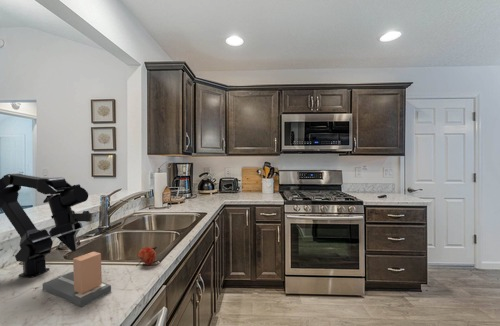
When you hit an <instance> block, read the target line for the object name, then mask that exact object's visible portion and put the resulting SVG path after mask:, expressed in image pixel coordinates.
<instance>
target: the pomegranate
mask: <svg viewBox="0 0 500 326" xmlns="http://www.w3.org/2000/svg"><path fill="white" fill-rule="evenodd" d="M156 249H158V246H155V247H150V246H145V247H142V248H141V249H140V250H139V251H138V253H137V258H139V259H140V261H139V262H138V263H137V264H136V265H135V266H136V267H137V266H139V265H140V264H141V263H144V264H145V265H146V266H150V265H151V264H152V265H153V263H154V262H155V261H156V259H157V252H156Z"/></svg>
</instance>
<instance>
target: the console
mask: <svg viewBox="0 0 500 326" xmlns="http://www.w3.org/2000/svg"><path fill="white" fill-rule="evenodd" d="M41 286H42V290H43V291H45V292H47V293H50V294H51V295H54V296H56V297H58V298H61V299H63V300H65V301H67V302H69V303H72V304H73V305H76V306H78V307H80V308H82V307H84V306H87V305H88V304H89V303H92V302H93V301H96V300H98V299H100V298H101V297H103V296H104V295H105V296H106V295H107V294H109V293H110V292H112V285H111V284H110V283H106V282H104V281H102V284H101V285H99V286H97V287H95V288H93V289H91V290H89V291H87V292H85V293H83V294H81V293H78V292H76V291H74V271H71V272H68V273H66V274H63V275H60V276H58V277H55V278H53V279H50V280H48V281H46V282H43V283H42V285H41Z"/></svg>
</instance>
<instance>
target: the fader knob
mask: <svg viewBox="0 0 500 326" xmlns="http://www.w3.org/2000/svg"><path fill="white" fill-rule="evenodd" d="M72 262H73V267H72V268H73V272H74V291H76V292H78V293H81V294H83V293H85V292H87V291H89V290H91V289H93V288H95V287H97V286H99V285H101V284H102V282H103V281H102V280H103V277H102V253H100V252H96V251H91V252H89V253H86V254H82V255H79V256H77V257H74V258H72Z"/></svg>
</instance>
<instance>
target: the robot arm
mask: <svg viewBox="0 0 500 326" xmlns="http://www.w3.org/2000/svg"><path fill="white" fill-rule="evenodd" d="M22 187H23V188H29V189H30V188H31V189H35V190H36V191H37V192H38V193H40V194H43V195H46V197H45V198H44V199H43V202H42V203H44V204H46V203H48V205H49V208H50V211H51V214H52V215H51V216H50V218H51V220H52V219H53V221H54V225H55V226H53V227H51V229H50V230H49V231H47V229H41V230H40V229H38V228H37V227H36V226H35V224H34V223H33V221H32V220H31V218H30V217H29V216H28V214H27V212H26V211H25V210H24V208H23V207H22V206H21V204H20V203H19V201H18V200H19V191H20V190H21V189H22ZM88 199H89V192H88V191H87V190H86V189H85V188H84V187H82V186H81V185H80V183H79V184H74V185H71V183H70V182H68V181H67V180H66V179H65V177H62V176H61V177H40V176H35V175H27V174H22V173H7V174H5V175H3V176H2V177H1V178H0V209H1V210H2V212H3V213H4V215H5V217H6V218H7V219H8V221H9V222H10V223H11V225H12V227H14V230H16V232H17V234H18V235H19V237H20V241H19V248H20V249H19V250H18V251H17V253H16V254H15V256H14V258H15V260H16V262H21V263H22V273H20V274H18V277H23V278H34V277H36V276H39V275H40V274H43V273H45V272H47V271H50V268H49V267H47V265H46V264H47V262H46V256H45V255H47V254H50V253H51V251H52V247H53V242H54V241H53V239H52V238H53V237H55V236H56V238H57V239H58V240H59V241H60V242H61V243H63V245H65V246H66V247H67V249H70V251H71V252H72V253H73V252H76V251H77V234H78V233H79V232H80V230H81V229H82V228H83V224H82V222H87V223H89V222H92V221H93V216H94V215H93V213H94V212H90V211H89V210H83V211H82V212H81V213H79V212H78V213H76V212H75V210H73V209H72V207H74V206H77V205H80V204H82V203H85V202H87V201H88Z"/></svg>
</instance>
